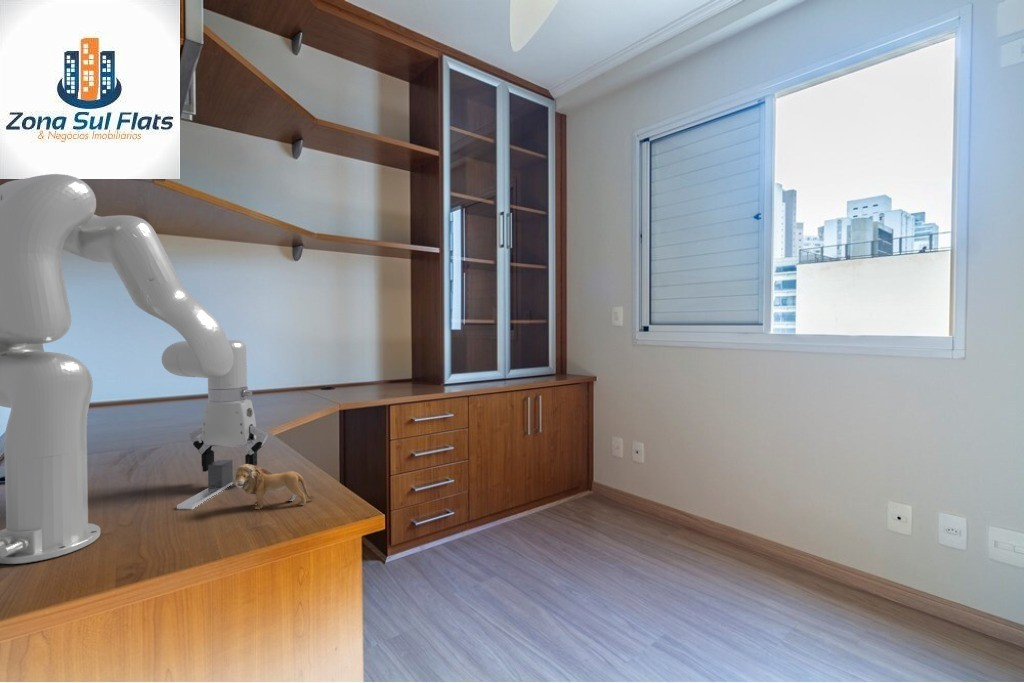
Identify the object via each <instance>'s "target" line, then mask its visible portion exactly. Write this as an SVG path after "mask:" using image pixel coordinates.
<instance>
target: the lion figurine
mask: <svg viewBox="0 0 1024 683" xmlns="http://www.w3.org/2000/svg"><path fill="white" fill-rule="evenodd" d="M233 475H234V476H233V484H234V485H235V486H236V487H237V488H238V489H240V490H243V491H244V492H245V493H246V494H248V495H255V496H256V501H255V502H254V503H255V504H258V505H255V506H254V508H255V509H259V508H261V509H262V508H263V506H264V495H265V494H266V493H276V492H279V491H282V490H284V489H286V488H287V489H288V490H289V492H290V493H291V494H292V495H291V497H288V498H287V500H288V501H292V502H294V501H295V499H296V498H297V497H298V498H299V499H300V501H299V502H298V503H297V505H298V504H299V505H303V506H305V505H306V501H307V500H306V497H307V498H308V499H310V500H314V499H315V496H313V495H312V494H310V493H309V492H308V489H307V485H306V481H305V479H304V478H303V476H302V475H301V474H300V473H298V472H296V471H293V470H291V471H290V470H289V471H285V472H282V473H280V472H279V473H272V472H270V471H268V470H267V469H266V468H262V467H259V466H258V465H257V466H256V465H250V464H245V463H244V464H241V465H239V466H238V467H236V468H234V474H233ZM299 483H301V486H302V488H303V491H302V490H301V489H300V487H299V486H300V485H299ZM293 500H294V501H293ZM304 504H305V505H304ZM299 505H298V506H299ZM255 509H254V510H255ZM259 510H260V509H259Z"/></svg>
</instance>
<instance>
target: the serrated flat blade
mask: <svg viewBox="0 0 1024 683" xmlns="http://www.w3.org/2000/svg"><path fill="white" fill-rule="evenodd" d="M233 466H234V465H233V459H218V460H216V461H215V460H214V462H213V463H211V464H209V465H208V471H207V480H208V481H207V485H208V487H207V488H205V489H204V490H202V491H200V492H198V493H196V494H195V495H192V496H191V497H189V498H187V499H185V500H184V501H182V502H181V503H179V504H176V510H195V509H196V508H197V507H199V506H201V505H202V504H204V503H205V502H204V501H206V500H207V499H209V498H211V497H212V496H214V495H216V494H217V495H219V494H220V493H219V492H221V491H222V490H224V489H225V488H227V487H229V486H230V485H232V484H233V485H234V476H233V475H234V474H233V471H234V469H233ZM233 485H232V486H233ZM229 488H230V487H229ZM227 489H228V488H227ZM224 491H225V490H224ZM222 492H223V491H222ZM222 492H221V493H222ZM218 493H219V494H218ZM217 495H216V496H217ZM214 497H215V496H214ZM212 498H213V497H212ZM212 498H211V499H212ZM209 500H210V499H209ZM207 501H208V500H207ZM207 501H206V502H207ZM203 502H204V503H203ZM201 503H202V504H201ZM200 504H201V505H200ZM198 505H199V506H198ZM195 507H196V508H195Z"/></svg>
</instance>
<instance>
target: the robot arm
mask: <svg viewBox="0 0 1024 683" xmlns="http://www.w3.org/2000/svg"><path fill="white" fill-rule="evenodd" d="M96 209H97V197H96V195H95V192H94V191H93V189H92V187H91V186H90V185H88V183H86V182H85V181H83V179H80V178H78V177H76V176H72V175H68V174H60V173H52V174H42V175H36V176H30V177H25V178H21V179H14V180H11V181H7V182H4V183H3V184H1V185H0V407H3V408H9V409H10V412H9V415H8V416H9V417H8V420H7V423H6V428H5V431H4V440H3V441H4V442H3V451H4V452H3V453H4V454H3V455H4V479H5V481H4V484H5V485H4V486H5V487H4V489H5V493H4V494H5V524H6V525H5V528H4V529H0V564H4V565H5V564H6V565H16V564H19V565H20V564H27V563H34V562H39V561H40V562H41V561H44V560H49V559H53V558H57V557H61V556H65V555H67V554H70V553H73V552H75V551H77V550H80V549H83V548H85V547H86V546H89V545H91V544H92V543H94V542H95V541H96V540H98V538H100V536H101V527H100V526H99V525H97V524H96V523H95V524H94V523H92V522H91V523H89V506H88V505H89V501H88V500H89V499H88V497H89V495H88V488H89V487H88V447H87V446H88V444H87V443H88V442H87V438H88V437H87V434H88V433H87V432H88V431H87V428H88V413H89V409H90V404H91V400H92V394H93V388H94V386H93V385H94V384H93V383H94V382H93V377H92V374H91V372H90V370H89V369H88V367H87V366H86V365H85V364H84V363H83V361H80V360H79V359H78V358H75V357H74V356H70V355H68V354H65V353H60V352H51V351H45V349H44V344H49V343H53V342H55V341H58V340H60V339H62V338H63V337H64V336H65V335H67V333H68V332H69V330H70V328H71V325H72V324H71V323H72V315H71V309H70V305H69V297H68V292H67V288H66V282H65V276H64V272H63V270H64V269H63V262H62V259H63V258H62V254H63V251H65V252H67V253H70V254H73V255H76V256H77V257H80V258H84V259H86V260H89V261H92V262H97V263H103V264H104V263H105V264H106V263H107V264H109V263H111V265H112V267H113V269H114V270H115V272H116V273H117V275H118V277H119V279H120V280H121V282H122V283H123V285H124V287H125V289H126V291H127V293H128V295H129V296H130V299H132V302H133V303H134V305H135V306H136V307H137V308H139V309H140V310H141V311H144V312H145V313H147V314H148V315H150V316H153V317H154V318H157V319H158V320H161V321H162V322H164V323H166V324H168V325H169V326H170V327H172V328H173V329H174V330H176V331H177V332H178V333H179V334H180V335H181V336H182V338H184V340H181V341H177V342H174V343H171V344H170V345H168V346H167V347H166V348H165V349H164V350H163V353H162V354H161V363H162V366H163V368H164V369H165V370H166V371H167V372H169V373H171V374H173V375H175V376H179V377H185V378H187V377H188V378H203V379H207V393H208V394H207V398H208V399H207V400H208V401H206V402H205V405H204V410H203V416H202V427H200V428H198V429H197V430H195V431H192V432H191V433H189V435H188V436H189V439H190V440H191V442H192V443H193V446H194V447H195V448H196V450H198V451H197V452H198V454H200V455H201V467H202V472H208V465H209V464H211V463H213V462H215V451H214V450H212V449H213V448H214V447H242V448H243V449H244V451H245V452H246V453H247V454H245V456H244V460H245V461H244V464H250V465H256V466H257V467H258V452H259V451H260V450H261V448H262V447H263V446H264V445H265V442H266V441H267V439H268V437H269V433H268V432H266V431H264V430H262V429H261V428H258V427H257V422H256V414H255V411H254V410H255V409H254V407H253V406H254V405H253V403H252V399H248V398H249V397H251V396H252V395H253V390H252V389H251V390H250V389H249V388H248V382H247V381H248V378H247V377H248V373H247V372H248V371H247V368H248V366H247V347H246V346H247V345H246V343H245V342H244V341H242V340H236V339H235V340H232V339H230V340H229V339H228V337H227V335H226V333H225V331H224V328H223V327H222V325H221V324H220V323H219V321H218V319H217V318H215V316H214V315H213V314H212V313H211V312H210V311H209V310H208V309H207V308H206V307H205V306H204V305H202V303H200V301H198V299H196V298H195V297H194V296H193V295H192V294H190V293H189V292H188V291H187V289H185V287H184V286H183V284H182V281H181V279H180V278H179V275H178V274H177V273H178V272H176V269H175V268H174V266H173V264H172V262H171V260H170V257H169V255H168V254H167V252H166V250H165V248H164V246H163V244H162V241H161V240H160V238H159V236H158V234H157V233H156V230H155V229H154V228H153V226H152V225H151V224H150V223H149V222H148V221H146V220H145V219H144V218H142V217H138V216H135V215H130V214H128V215H125V214H117V215H106V216H99V215H97V214H95V213H96ZM201 436H202V439H201ZM257 438H258V439H257ZM256 440H257V441H256Z"/></svg>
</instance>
